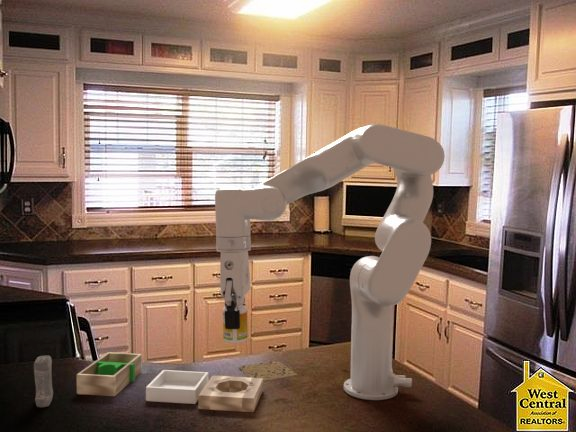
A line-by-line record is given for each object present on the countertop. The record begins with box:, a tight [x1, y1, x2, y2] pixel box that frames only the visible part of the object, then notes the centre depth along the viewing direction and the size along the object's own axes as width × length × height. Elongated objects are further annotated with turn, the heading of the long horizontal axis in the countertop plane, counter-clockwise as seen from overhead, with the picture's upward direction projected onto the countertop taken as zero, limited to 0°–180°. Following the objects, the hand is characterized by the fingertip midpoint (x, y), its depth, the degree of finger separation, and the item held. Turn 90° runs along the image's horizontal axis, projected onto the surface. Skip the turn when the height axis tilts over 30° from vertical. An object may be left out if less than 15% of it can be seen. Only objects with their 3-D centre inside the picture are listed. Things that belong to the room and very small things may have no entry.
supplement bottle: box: [222, 295, 249, 344], centre depth 123 cm, size 5×5×10 cm
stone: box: [33, 354, 54, 408], centre depth 121 cm, size 3×6×10 cm, turn 13°
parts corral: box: [76, 351, 143, 397], centre depth 134 cm, size 9×16×4 cm, turn 173°
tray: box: [145, 369, 210, 405], centre depth 128 cm, size 11×11×3 cm
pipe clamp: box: [91, 360, 136, 383], centre depth 134 cm, size 10×4×4 cm, turn 81°
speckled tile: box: [237, 360, 298, 382], centre depth 143 cm, size 12×12×1 cm
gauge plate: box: [197, 375, 264, 413], centre depth 124 cm, size 12×12×3 cm
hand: (235, 324), depth 124 cm, fingers closed on supplement bottle, 5 cm apart
